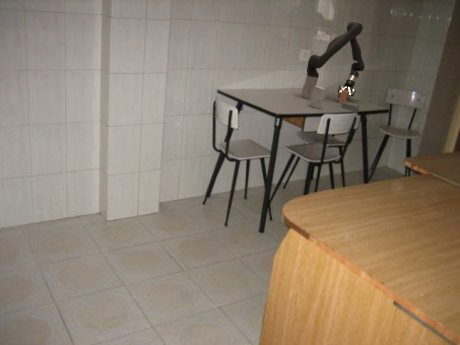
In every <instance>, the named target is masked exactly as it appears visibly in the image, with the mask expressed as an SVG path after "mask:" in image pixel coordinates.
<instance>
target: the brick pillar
mask: <svg viewBox="0 0 460 345" xmlns="http://www.w3.org/2000/svg"><path fill="white" fill-rule="evenodd" d="M348 95H349V92H348V91H344V90H343V91H342V92H341V95H340V97H339V100H338V104H340V105H342V103H343V102H346V101H347V102H348V100H347V97H348Z"/></svg>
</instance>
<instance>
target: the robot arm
mask: <svg viewBox="0 0 460 345" xmlns="http://www.w3.org/2000/svg"><path fill="white" fill-rule="evenodd" d="M363 29H364V27H363V24H362V23H360V22H353V21H352V22H349V23H348V24H347V26H346V32H345V33H343V34H341V35H339V36H337V37H335V38H334V39H332V40H331V41H330V42H329V44H328V45H327V47H326V50H325V52H324V53H322V54H321V55H317V54H312V55H311V56H310V57H309V59H308V62H307V68H306V78H305V80H304V84H303V86H302V89H301V90H302V91H301V95H300V96H301V97H302V98H304V99H308V100H310V99H311V96H312V92H313V89H314V86H318V85H317V84H318V80H319V76H320V74H319V72H318V69H321V68H323V66H324V65H325V64H326V63H327V62H328V61H330V59H331V58H333V56H335V55H336V54H337V53H338V52H340V51H341V49H343V48H344V47H345V46H346V45H347V44H348V43H349V42H350V47H351V56H352V60H353V61H354V62H353V63H352V64H351V68H350V73H349V75H348V77H347V78H346V80H345V83H344V84H343V85H339V86H338V89H337V94H338V95H337V98H339V99H340V96H341V92H342V91H343V90H344V91H348V92H349V93H348V97H347V101H349V100H350V98H351V97H352V98H353V97H354V96H355V94H356V93H357V89H356V88H355V89H354V87H355V85H356V83H357V80H358V78H359V76H360V73H359V72H364V70H365V68H366V66H365V62H364V59H363V57H362V49H361V46H360V44H359V42H358V39H357V37H358V36H359V35H360V34H361V33H362V31H363ZM351 92H352V93H351Z"/></svg>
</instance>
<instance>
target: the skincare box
mask: <svg viewBox="0 0 460 345" xmlns="http://www.w3.org/2000/svg"><path fill="white" fill-rule="evenodd" d="M327 90H328V89H327V88H325V87H322V86H320V85H316V86H314V89H313V92H312V96H311V99H309V103H308V106H309V107H313V108H316V109H322V107H323V104H324V100H325V96H326V93H327Z"/></svg>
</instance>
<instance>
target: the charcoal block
mask: <svg viewBox="0 0 460 345" xmlns="http://www.w3.org/2000/svg"><path fill="white" fill-rule="evenodd" d="M360 105H361V104H358V103H354V102H351V101H348V100H347V101H346V102H343V103H342V104H341V109H346V110H348V111H352V112H357V111H359V109H360Z"/></svg>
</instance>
